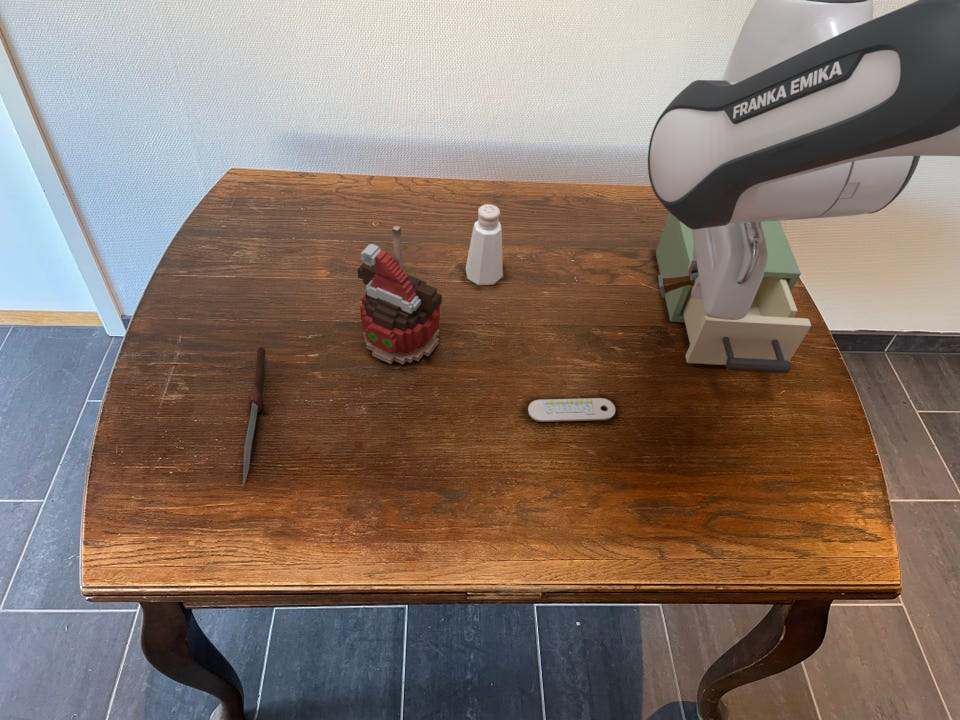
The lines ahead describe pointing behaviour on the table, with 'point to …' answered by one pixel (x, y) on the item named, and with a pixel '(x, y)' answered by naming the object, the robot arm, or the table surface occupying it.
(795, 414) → the table surface
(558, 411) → the keychain
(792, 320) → the drawer
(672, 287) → the wooden post with brackets
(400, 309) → the christmas cupcake
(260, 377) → the knife
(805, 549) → the table surface
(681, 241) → the cabinet
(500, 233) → the salt shaker
